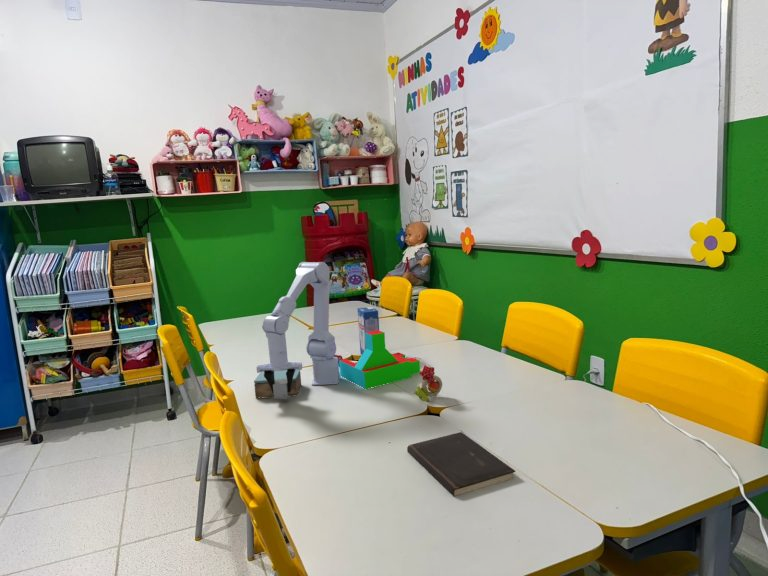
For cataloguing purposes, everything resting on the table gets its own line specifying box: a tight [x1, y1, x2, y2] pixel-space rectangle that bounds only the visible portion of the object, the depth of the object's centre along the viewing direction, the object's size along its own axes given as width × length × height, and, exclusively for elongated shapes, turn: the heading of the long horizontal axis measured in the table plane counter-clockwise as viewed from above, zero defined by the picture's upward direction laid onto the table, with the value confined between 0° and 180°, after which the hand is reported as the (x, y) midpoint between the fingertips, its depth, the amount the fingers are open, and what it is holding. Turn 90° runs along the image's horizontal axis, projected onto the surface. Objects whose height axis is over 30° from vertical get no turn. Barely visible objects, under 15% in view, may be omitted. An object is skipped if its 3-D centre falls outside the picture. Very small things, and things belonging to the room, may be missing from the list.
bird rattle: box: [413, 365, 443, 402], centre depth 164 cm, size 6×11×9 cm
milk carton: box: [357, 306, 380, 356], centre depth 214 cm, size 10×6×20 cm, turn 17°
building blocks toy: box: [339, 329, 421, 390], centre depth 189 cm, size 19×25×18 cm
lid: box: [253, 369, 301, 384], centre depth 178 cm, size 14×11×1 cm
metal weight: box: [273, 379, 290, 400], centre depth 168 cm, size 4×4×5 cm
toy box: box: [253, 372, 302, 399], centre depth 179 cm, size 14×11×5 cm
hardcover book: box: [406, 431, 516, 498], centre depth 122 cm, size 16×23×2 cm
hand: (281, 391), depth 168 cm, fingers closed on metal weight, 4 cm apart
